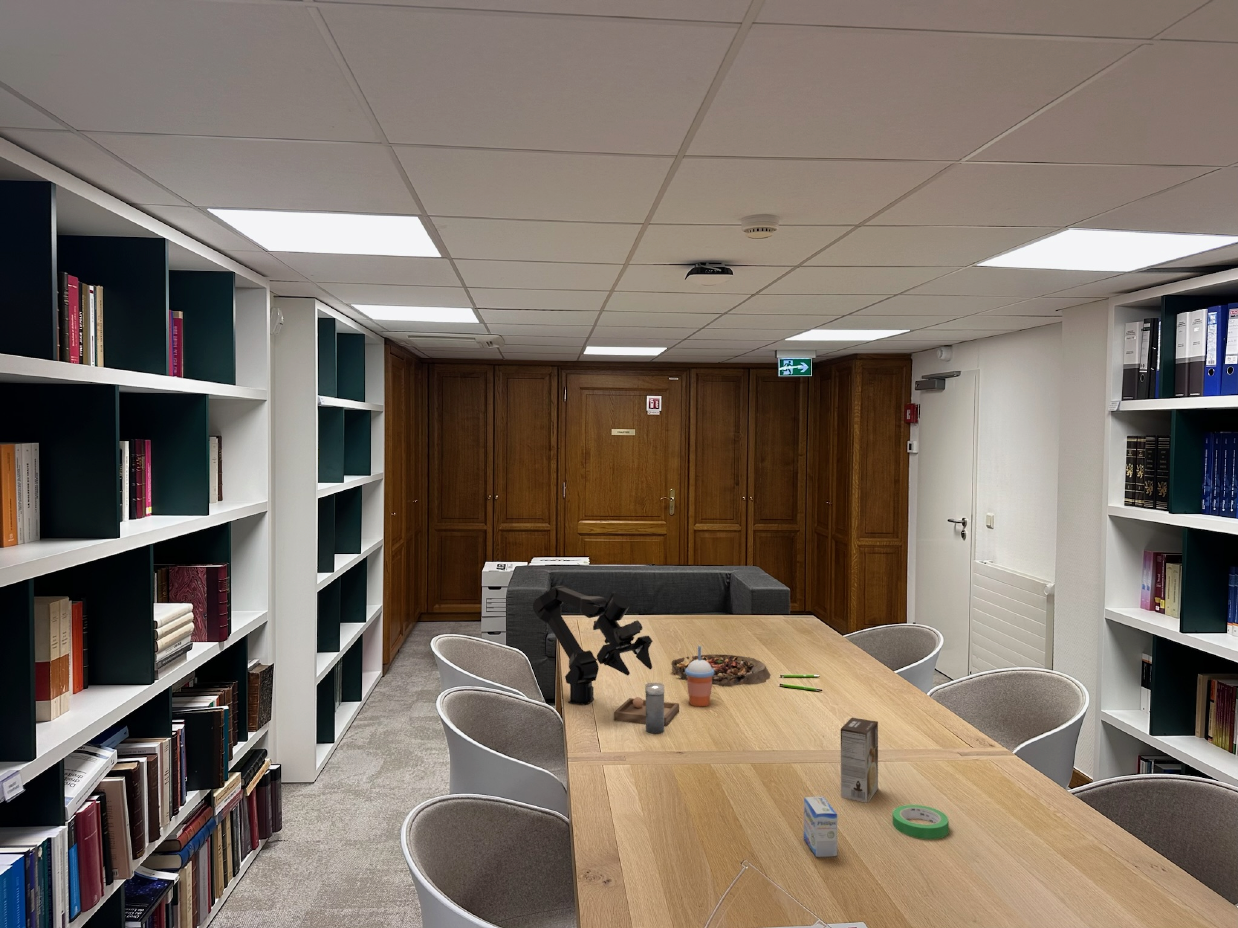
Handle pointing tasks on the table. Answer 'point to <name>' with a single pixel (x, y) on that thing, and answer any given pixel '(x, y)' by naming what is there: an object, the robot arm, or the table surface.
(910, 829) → the tape roll
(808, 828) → the medicine box
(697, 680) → the cup with straw
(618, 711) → the tray
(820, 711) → the table surface
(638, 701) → the ball
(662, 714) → the shaker
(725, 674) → the food dish
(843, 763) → the coffee box
